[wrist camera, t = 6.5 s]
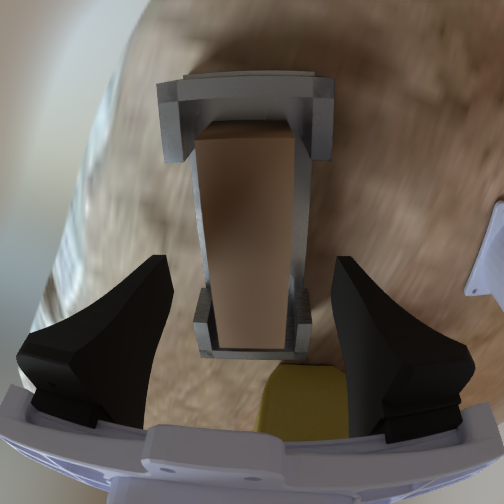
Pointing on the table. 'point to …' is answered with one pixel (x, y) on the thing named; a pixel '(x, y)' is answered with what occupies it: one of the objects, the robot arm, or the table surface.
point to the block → (247, 227)
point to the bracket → (306, 149)
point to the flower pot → (304, 404)
